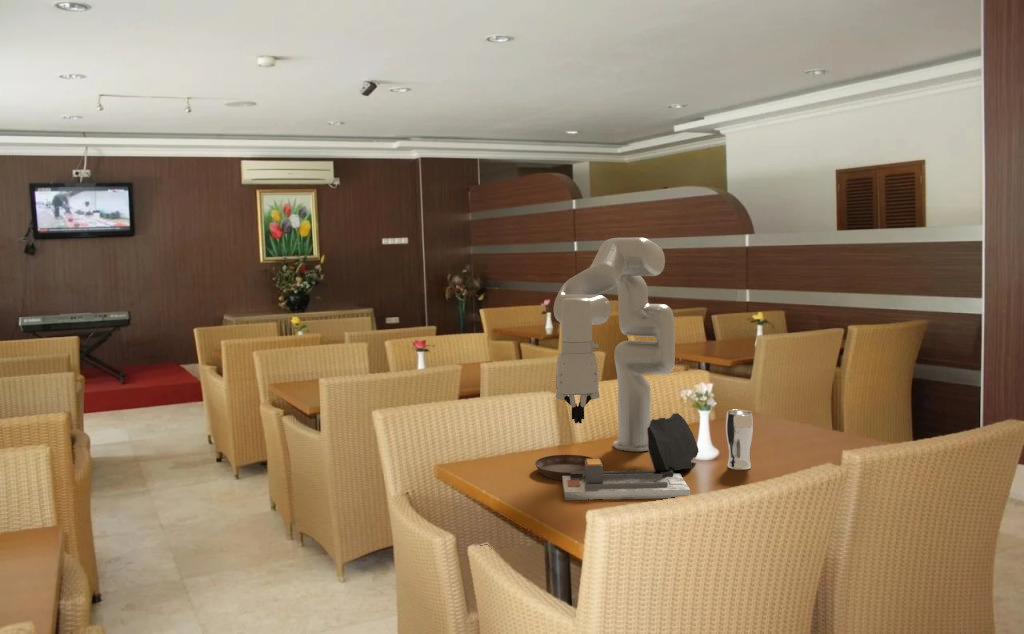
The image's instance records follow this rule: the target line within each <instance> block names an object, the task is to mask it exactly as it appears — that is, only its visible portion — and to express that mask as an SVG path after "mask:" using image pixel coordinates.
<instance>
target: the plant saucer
mask: <svg viewBox="0 0 1024 634" xmlns="http://www.w3.org/2000/svg"><path fill="white" fill-rule="evenodd" d="M586 459H596V458H594V457H592V456H587V455H581V454H580V455H578V454H554V455H553V454H552V455H547V456H543V457H540V458H538V459H536V460H535V461H534V464H535V465H534V466H535V467H536V468H537V470H538V471H539V472H540V473H541V474H542V475H543V476H544V477H546V478H548V479H552V478H553V480H558V479H561V480H560V481H562V476H570V472H579V471H585V460H586Z"/></svg>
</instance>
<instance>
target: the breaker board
mask: <svg viewBox="0 0 1024 634" xmlns="http://www.w3.org/2000/svg"><path fill="white" fill-rule="evenodd" d="M561 483H562V490H563V495H564V501H592V500H593V499H603V500H643V499H645V500H651V499H652V500H653V499H656V500H657V499H672V498H671V497H678V496H685V495H690V496H691V489H690V487H689V485H688V484H687V482H686V481H685V479H684V477H682V474H681V473H674V471H672V470H664V471H654V469H647V470H646V469H645V470H644V469H643V470H641V469H640V470H639V469H637V470H603V483H586V481H585V471H579V472H570V476H562V480H561ZM588 499H589V500H588Z"/></svg>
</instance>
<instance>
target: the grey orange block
mask: <svg viewBox="0 0 1024 634" xmlns="http://www.w3.org/2000/svg"><path fill="white" fill-rule="evenodd" d="M603 471H604V465H603V463H602V460H601V459H600V458H595V459H586V460H585V481H586V483H603Z"/></svg>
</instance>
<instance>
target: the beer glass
mask: <svg viewBox="0 0 1024 634" xmlns="http://www.w3.org/2000/svg"><path fill="white" fill-rule="evenodd" d="M753 426H754V424H753V412H752V411H750V410H747V409H731V410H728V411H726V420H725V435H726V440H727V448H728V461H727V468H729V470H734V471H747V470H750V469H751V467H752V466H751V465H752V464H751V459H750V458H751V457H750V450H751V444H752V440H753V430H754V427H753Z"/></svg>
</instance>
